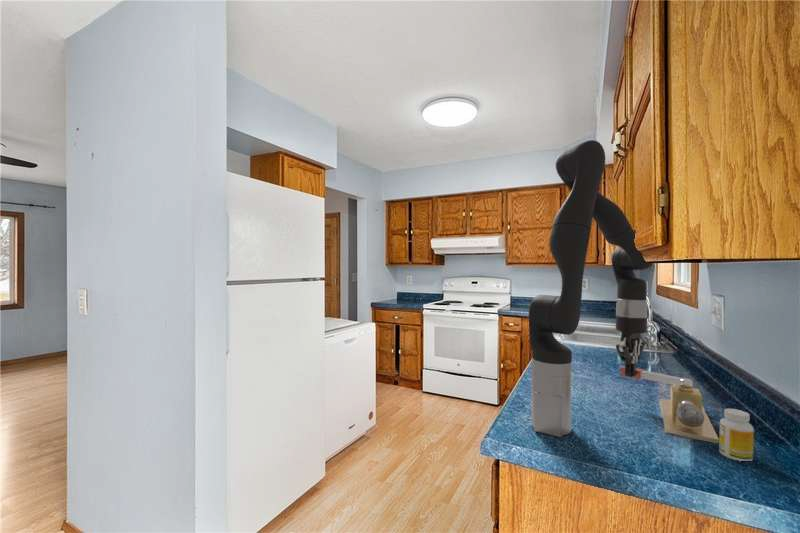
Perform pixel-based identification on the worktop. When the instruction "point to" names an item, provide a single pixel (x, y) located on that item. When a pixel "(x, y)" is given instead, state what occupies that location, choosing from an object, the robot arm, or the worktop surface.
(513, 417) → the worktop surface
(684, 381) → the valve lever
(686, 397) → the valve rig
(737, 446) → the supplement bottle
